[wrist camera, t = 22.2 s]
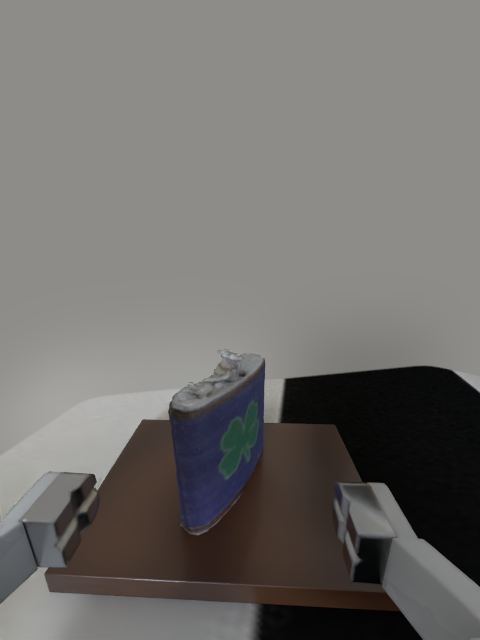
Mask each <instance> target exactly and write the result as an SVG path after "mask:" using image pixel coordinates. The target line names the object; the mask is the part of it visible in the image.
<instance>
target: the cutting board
mask: <svg viewBox="0 0 480 640" xmlns="http://www.w3.org/2000/svg"><path fill="white" fill-rule="evenodd" d="M263 441H264V446H263V453H262V457H261V460H260V461H259V464H258V466H257V467H256V469H255V471H254V473H253V475H252V477H251V479H250V480H249V482H248V483H247V485H246V487H245V490H244V492H243V493H241V495H240V497H239V499H238V500H237V501H236V503H235V504H234V505H232V506H231V509H230V510H229V511H228V512H227V513H226V514H225V515H224V516H223V517H222V518H221V520H219V522H218V523H217V524H215V525H214V526H213V527H211V528H210V529H209V530H208V531H207V532H204V533H202V534H200V535H194V534H189V533H188V532H187V531H185V529H184V527H182V526H180V524H181V514H180V503H179V491H178V487H177V478H176V464H175V459H174V448H173V443H172V435H171V423H170V420H142V421H141V423H140V425H139V426H138V428H137V429H136V431H135V432H134V434H133V436H132V437H131V439H130V440H129V442H128V443H127V445H126V447H125V448H124V450H123V451H122V453H121V454H120V456H119V458H118V459H117V461H116V462H115V464H114V465H113V467H112V469H111V470H110V472H109V473H108V475H107V476H106V478H105V480H104V481H103V483H102V484H101V486H100V487H99V489H98V492H99V497H100V502H99V508H98V511H97V514H96V517H95V519H94V520H93V522H92V524H91V526H90V527H89V528H87V529H86V530H85V531H84V532H83V533H81V543H80V545H79V546H78V548H77V550H76V551H75V553H74V555H73V557H72V558H71V560H70V562H69V563H68V565H67V567H66V568H64V567H49V568H48V569H47V571H46V572H45V578H46V581H47V585H48V588H49V591H50V592H60V593H78V594H96V595H114V596H132V597H150V598H169V599H187V600H205V601H223V602H241V603H259V604H277V605H295V606H313V607H332V608H350V609H368V610H386V611H400V609H399V608H398V607H397V605H396V604H395V603H394V602H393V600H392V599H391V598H390V596H389V595H388V594H387V593H386V591H385V590H384V589H383V587H382V584H370V583H358V582H351V581H350V578H349V574H348V571H347V568H346V565H345V561H344V558H343V555H342V552H343V545H344V544H343V543H342V542H341V541H340V540H339V538H338V537H337V535H336V531H335V528H334V523H333V517H332V501H333V500H334V499H335V498H336V495H335V492H334V486H335V483H336V482H362V480H361V478H360V476H359V474H358V472H357V470H356V468H355V466H354V464H353V462H352V460H351V458H350V455H349V453H348V451H347V449H346V447H345V445H344V443H343V441H342V439H341V437H340V435H339V433H338V431H337V429H336V427H335V425H323V424H287V423H264V432H263Z"/></svg>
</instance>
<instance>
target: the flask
mask: <svg viewBox="0 0 480 640" xmlns="http://www.w3.org/2000/svg"><path fill="white" fill-rule="evenodd" d="M217 353H220V354H222V355H221V356H222V361H221V362H220V363H219V364H218V366H217V367H216V369H215V370H214V373H213V374H214V375H212V376H210V377H209V378H207V379H204V380H203V381H202V382H199V383H196V384H194V383H192V382H190V383H189V384H188V387H184V388H183V389H181V391H179V392H178V393H176V394H175V395H174V396H173V399H172V401H171V402H170V406H169V411H168V413H169V417H170V423H171V435H172V443H173V448H174V459H175V464H176V478H177V487H178V491H179V503H180V514H181V524H180V526H182V527H184V529H185V531H187V532H188V533H189V534H194V535H200V534H202V533H204V532H207V531H208V530H209V529H210V528H211V527H213V526H214V525H215V524H217V523H218V522H219V520H221V518H222V517H223V516H224V515H225V514H226V513H227V512H228V511H229V510H230V509H231V506H232V505H234V504H235V503H236V501H237V500H238V499H239V497H240V495H241V493H243V492H244V490H245V487H246V485H247V483H248V482H249V480H250V479H251V477H252V475H253V473H254V471H255V469H256V467H257V466H258V464H259V461H260V460H261V457H262V453H263V446H264V441H263V432H264V419H263V416H264V379H265V359H264V358H263V357H261V356H260V355H255V354H242V355H240V356H237V354H236V353H232V352H229V350H228V349H224V350H222V351H221V350H218V351H217Z"/></svg>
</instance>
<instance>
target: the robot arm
mask: <svg viewBox="0 0 480 640" xmlns="http://www.w3.org/2000/svg"><path fill="white" fill-rule="evenodd" d="M95 484H96V478H95V475H94V474H84V473H69V472H48V473H46V474H44V475H43V476H42V477H41V478H40V479H39V480H38V481H37V482H36V483H35V484H34V486H33V487H32V488H31V489H30V490H29V491H28V492H27V493H26V494H25V495H24V496H23V497H22V498H21V500H20V501H19V502H18V503H17V504H16V505H15V506H14V507H13V508H12V509H11V510H10V511H9V512H8V513H7V515H6V516H5V517H4V518H3V519H2V520H1V521H0V603H2V602H3V601H4V600H5V599H6V598H7V597H8V596H9V595H10V594H11V593H12V592H13V591H15V590H16V589H17V588H18V587H19V586H20V585H21V584H22V583H23V582H24V581H25V580H26V579H28V578H29V577H30V576H31V575H32V574H33V573H34V572H35V571H36V570H37V569H38V568H37V567H64V568H66V567H67V565H68V563H69V562H70V560H71V558H72V557H73V555H74V553H75V551H76V550H77V548H78V546H79V545H80V543H81V533H83V532H84V531H85V530H86V529H87V528H89V527H90V526H91V524H92V522H93V520H94V519H95V517H96V514H97V511H98V508H99V502H100V497H99V492H98V491H97V490H96V489H95V488H94V485H95ZM334 492H335V495H336V498H335V499H334V500H333V501H332V517H333V523H334V528H335V531H336V535H337V537H338V538H339V540H340V541H341V542H342V543H343V544H344V545H343V552H342V555H343V558H344V561H345V565H346V568H347V571H348V574H349V578H350V581H351V582H358V583H370V584H382V587H383V589H384V590H385V591H386V593H387V594H388V595H389V596H390V598H391V599H392V600H393V602H394V603H395V604H396V605H397V607H398V608H399V609H400V611H401V612H402V613H403V614H404V616H405V617H406V618H407V620H408V621H409V622H410V623H411V625H412V626H413V627H414V629H415V630H416V631H417V632H418V634H419V635H420V636H421V637H422V639H423V640H480V587H479V586H478V585H477V584H476V583H475V582H473V581H472V580H471V579H470V578H469V577H467V576H466V575H465V574H464V573H463V572H462V571H460V570H459V569H458V568H457V567H456V566H454V565H453V564H452V563H451V562H450V561H449V560H447V559H446V558H445V557H444V556H443V555H441V554H440V553H439V552H438V551H437V550H436V549H434V548H433V547H432V546H431V545H430V544H428V543H427V542H426V541H425V540H424V539H418V538H417V536H416V535H415V533H414V531H413V529H412V528H411V526H410V524H409V523H408V521H407V519H406V518H405V516H404V514H403V512H402V511H401V509H400V507H399V506H398V504H397V502H396V501H395V499H394V497H393V495H392V494H391V492H390V490H389V489H388V487H387V486H386V485H385V484H384V483H366V482H336V483H335V486H334Z"/></svg>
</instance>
